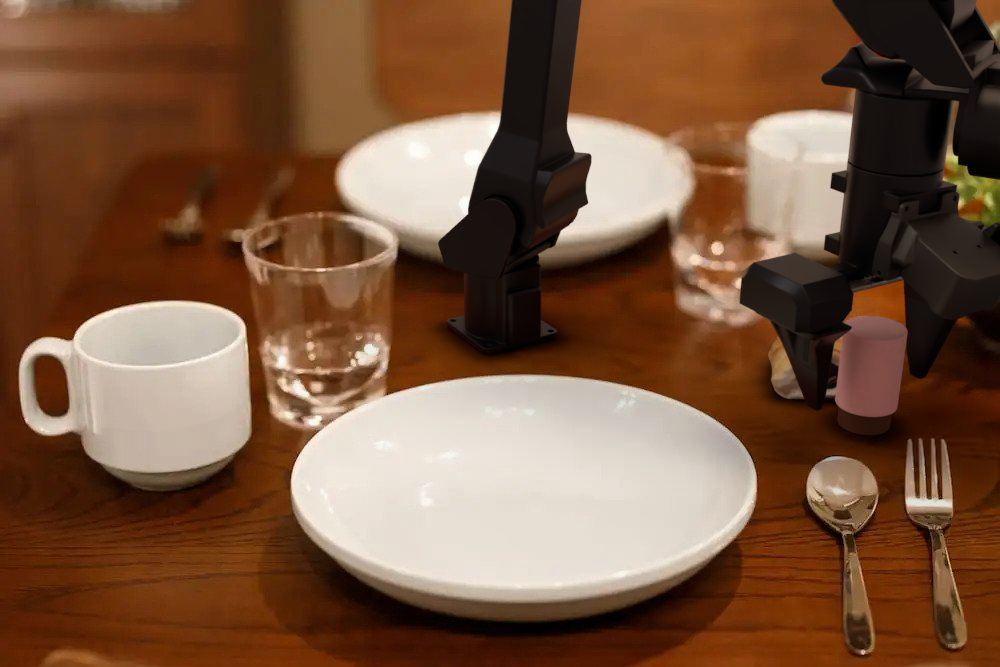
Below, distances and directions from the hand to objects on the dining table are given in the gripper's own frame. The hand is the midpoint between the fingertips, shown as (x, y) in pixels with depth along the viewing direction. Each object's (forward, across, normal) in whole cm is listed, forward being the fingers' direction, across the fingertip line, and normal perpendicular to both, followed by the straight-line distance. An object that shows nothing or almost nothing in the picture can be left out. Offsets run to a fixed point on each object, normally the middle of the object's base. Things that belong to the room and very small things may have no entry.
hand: (866, 391), depth 86 cm
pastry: (+2, +2, +7) cm, 8 cm away
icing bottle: (+2, 0, 0) cm, 2 cm away
